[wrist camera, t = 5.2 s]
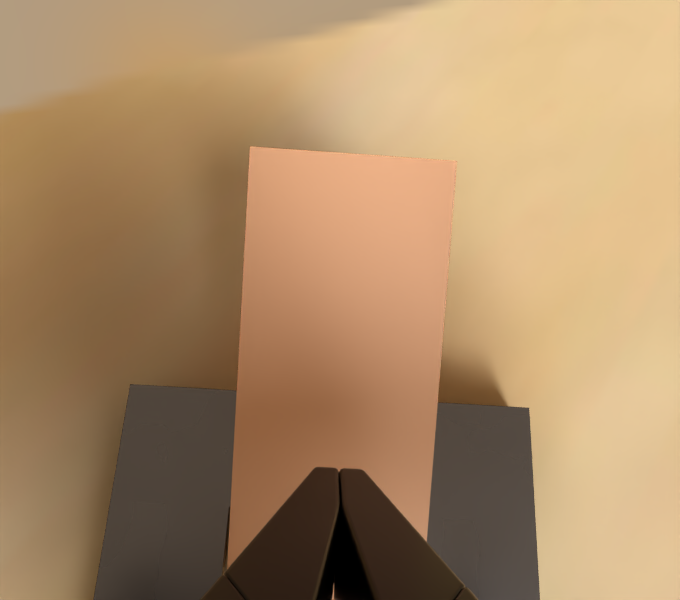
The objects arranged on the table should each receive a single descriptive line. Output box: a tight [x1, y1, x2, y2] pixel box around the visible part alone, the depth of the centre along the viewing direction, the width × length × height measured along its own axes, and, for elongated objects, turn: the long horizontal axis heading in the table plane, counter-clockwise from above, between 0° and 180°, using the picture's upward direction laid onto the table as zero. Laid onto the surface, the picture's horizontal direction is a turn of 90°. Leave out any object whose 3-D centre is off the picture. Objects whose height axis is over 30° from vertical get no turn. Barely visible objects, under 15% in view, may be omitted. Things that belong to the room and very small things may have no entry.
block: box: [227, 146, 457, 600], centre depth 15 cm, size 4×4×12 cm
